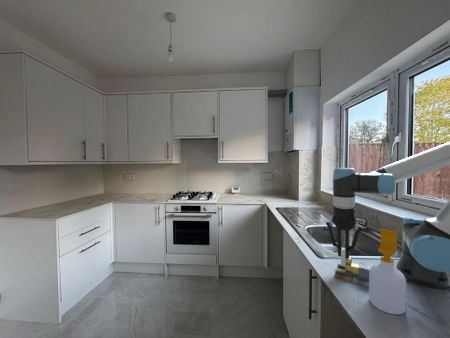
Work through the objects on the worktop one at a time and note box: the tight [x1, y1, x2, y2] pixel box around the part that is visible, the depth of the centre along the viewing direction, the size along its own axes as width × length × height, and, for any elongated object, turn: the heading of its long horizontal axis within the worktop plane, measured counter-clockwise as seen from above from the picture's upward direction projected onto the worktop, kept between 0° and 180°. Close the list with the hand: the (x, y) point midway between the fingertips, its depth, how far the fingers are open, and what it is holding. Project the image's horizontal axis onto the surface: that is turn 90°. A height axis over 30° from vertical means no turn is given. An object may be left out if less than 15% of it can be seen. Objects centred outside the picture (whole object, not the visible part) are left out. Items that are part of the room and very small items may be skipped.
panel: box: [334, 266, 369, 288], centre depth 82 cm, size 13×9×1 cm
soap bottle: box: [368, 227, 407, 316], centre depth 66 cm, size 9×9×25 cm
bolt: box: [345, 257, 359, 276], centre depth 82 cm, size 7×3×5 cm, turn 54°
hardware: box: [334, 260, 377, 282], centre depth 82 cm, size 13×7×5 cm, turn 54°
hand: (343, 264), depth 84 cm, fingers closed
